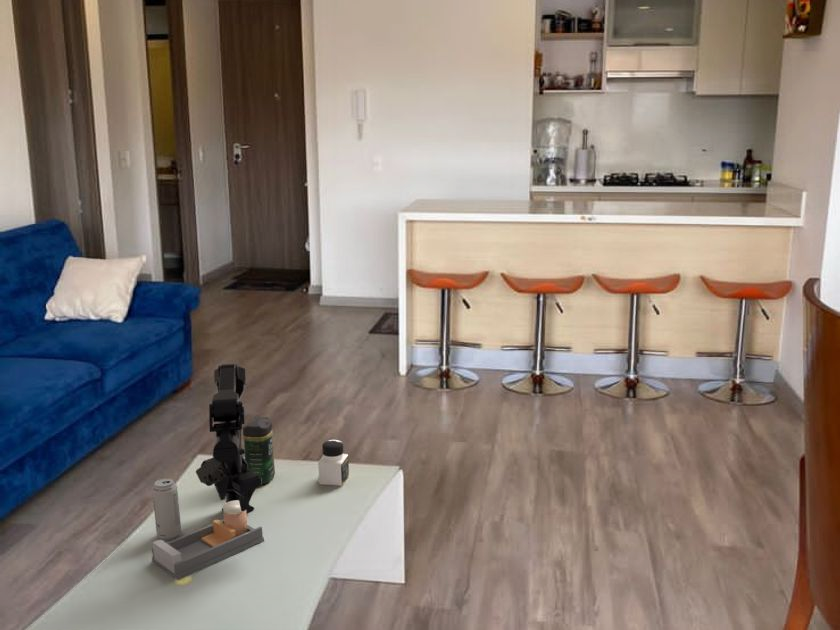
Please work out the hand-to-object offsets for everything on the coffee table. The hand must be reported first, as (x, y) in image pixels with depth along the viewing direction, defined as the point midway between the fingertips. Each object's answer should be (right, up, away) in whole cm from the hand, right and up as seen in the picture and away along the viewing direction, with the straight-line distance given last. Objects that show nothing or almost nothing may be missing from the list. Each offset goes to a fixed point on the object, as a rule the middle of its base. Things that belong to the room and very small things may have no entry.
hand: (233, 505), depth 200 cm
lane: (-5, -11, -3) cm, 12 cm away
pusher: (-3, -9, -1) cm, 10 cm away
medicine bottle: (+22, -1, +35) cm, 41 cm away
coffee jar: (0, -1, +37) cm, 37 cm away
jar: (0, -8, +2) cm, 9 cm away
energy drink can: (-17, -9, +4) cm, 20 cm away
